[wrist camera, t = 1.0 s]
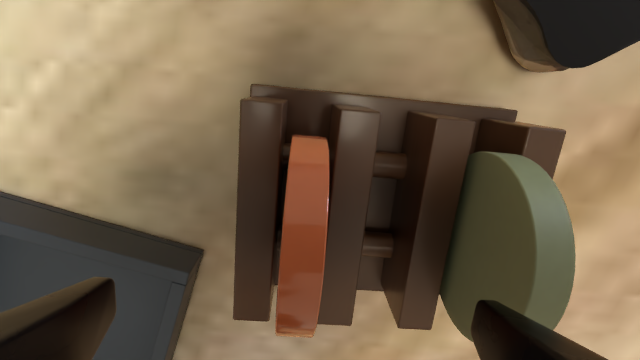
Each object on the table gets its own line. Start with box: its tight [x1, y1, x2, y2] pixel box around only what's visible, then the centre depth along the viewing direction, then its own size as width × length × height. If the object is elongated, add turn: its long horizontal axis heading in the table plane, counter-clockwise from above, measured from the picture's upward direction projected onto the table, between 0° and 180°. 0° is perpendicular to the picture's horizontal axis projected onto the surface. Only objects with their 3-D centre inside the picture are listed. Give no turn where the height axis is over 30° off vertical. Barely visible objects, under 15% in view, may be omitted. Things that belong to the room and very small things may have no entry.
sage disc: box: [440, 151, 575, 342], centre depth 13 cm, size 7×1×7 cm, turn 174°
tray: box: [0, 192, 203, 360], centre depth 18 cm, size 12×11×2 cm
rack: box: [233, 84, 566, 330], centre depth 16 cm, size 10×12×5 cm
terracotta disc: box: [275, 134, 329, 338], centre depth 12 cm, size 7×1×7 cm, turn 174°
